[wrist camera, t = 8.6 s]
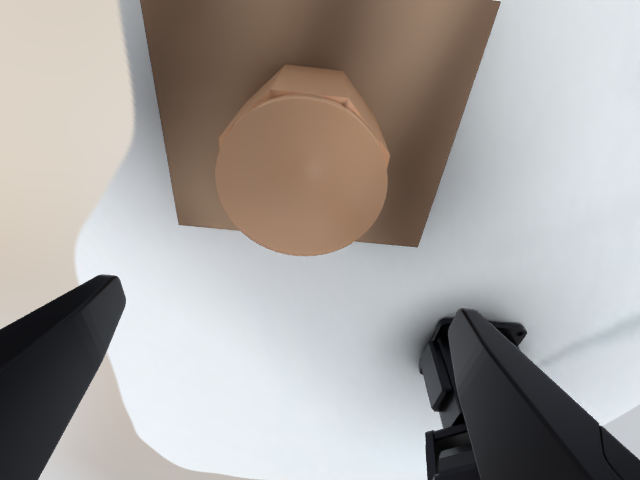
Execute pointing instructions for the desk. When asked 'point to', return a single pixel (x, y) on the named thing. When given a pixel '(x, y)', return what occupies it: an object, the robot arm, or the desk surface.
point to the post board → (327, 53)
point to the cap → (303, 163)
